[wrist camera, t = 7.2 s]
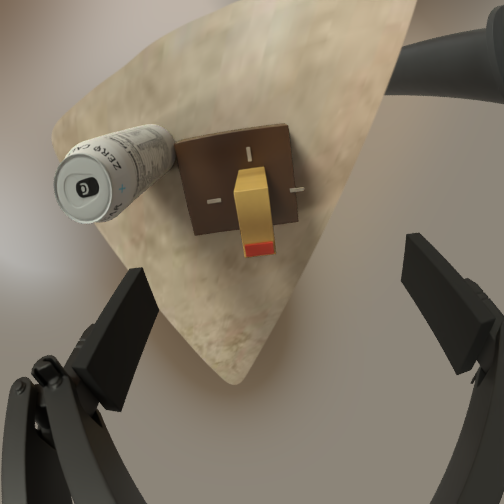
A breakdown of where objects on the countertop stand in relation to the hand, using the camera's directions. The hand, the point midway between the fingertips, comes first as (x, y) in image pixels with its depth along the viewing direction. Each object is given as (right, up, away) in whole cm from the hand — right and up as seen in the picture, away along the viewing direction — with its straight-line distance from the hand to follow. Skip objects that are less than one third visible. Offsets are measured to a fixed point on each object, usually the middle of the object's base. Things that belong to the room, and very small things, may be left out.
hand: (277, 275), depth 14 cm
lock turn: (-1, +7, +15) cm, 16 cm away
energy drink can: (-12, +12, +16) cm, 23 cm away
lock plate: (-3, +9, +17) cm, 19 cm away
